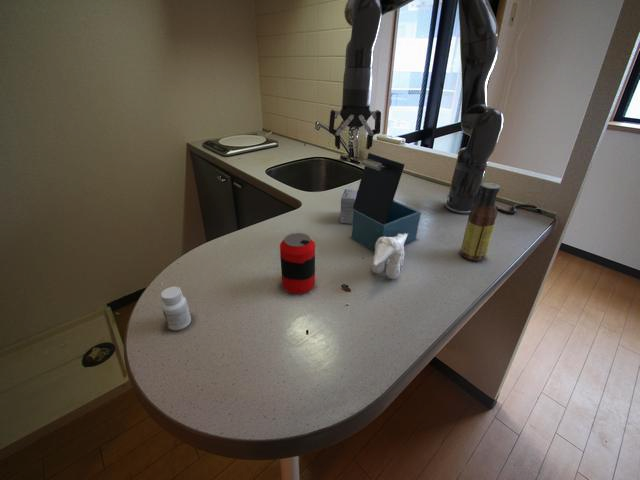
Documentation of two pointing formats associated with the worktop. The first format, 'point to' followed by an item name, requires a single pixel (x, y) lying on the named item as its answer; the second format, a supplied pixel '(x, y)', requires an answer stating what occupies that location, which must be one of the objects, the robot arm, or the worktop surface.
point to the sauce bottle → (480, 223)
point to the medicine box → (347, 206)
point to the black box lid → (378, 187)
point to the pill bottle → (175, 308)
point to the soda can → (297, 263)
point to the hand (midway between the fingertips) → (353, 148)
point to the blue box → (386, 225)
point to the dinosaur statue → (389, 255)
